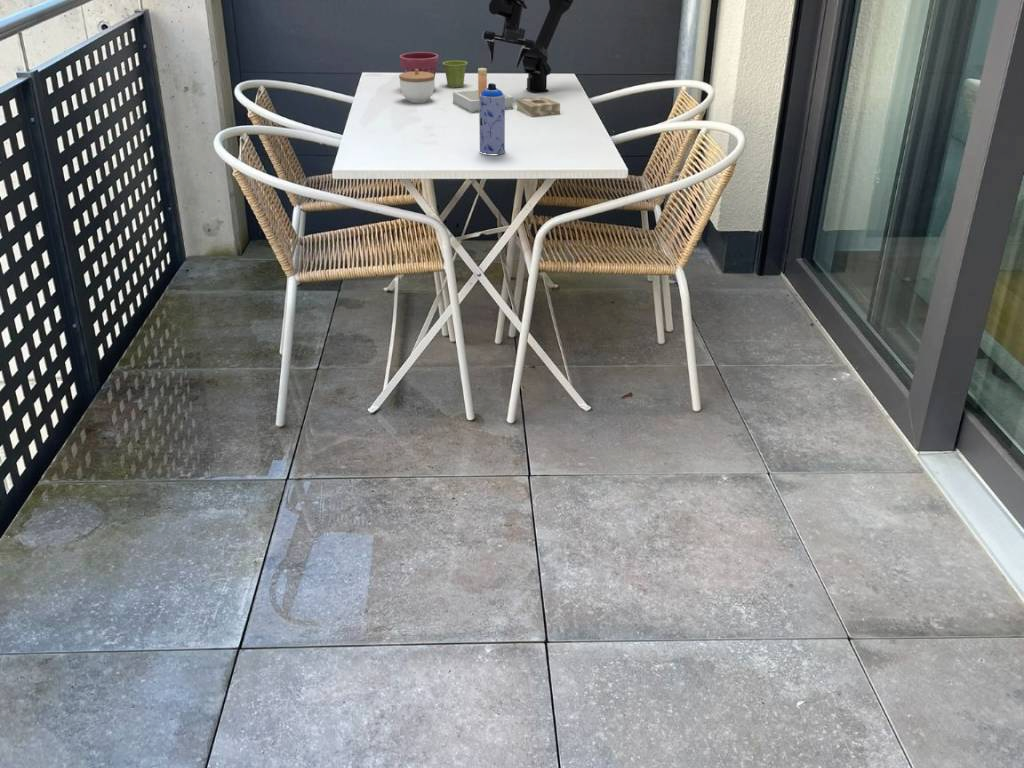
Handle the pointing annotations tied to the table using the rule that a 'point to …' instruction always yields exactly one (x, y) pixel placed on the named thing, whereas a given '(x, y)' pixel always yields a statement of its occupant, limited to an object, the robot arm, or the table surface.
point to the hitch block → (538, 106)
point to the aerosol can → (492, 120)
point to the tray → (475, 100)
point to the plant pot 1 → (419, 62)
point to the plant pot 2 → (455, 73)
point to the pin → (482, 80)
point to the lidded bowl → (417, 85)
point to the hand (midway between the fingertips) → (504, 65)
